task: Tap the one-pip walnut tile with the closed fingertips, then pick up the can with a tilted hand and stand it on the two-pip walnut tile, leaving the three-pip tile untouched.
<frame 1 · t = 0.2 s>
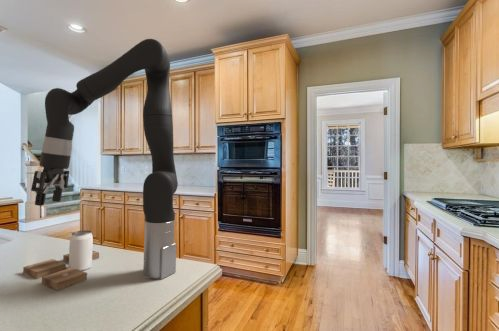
hand: (48, 203, 81), 22 cm above the countertop, tool pointing down, fingers open, 8 cm apart
tile 1: (64, 281, 75), on the countertop
tile 2: (44, 271, 82), on the countertop
tile 3: (81, 259, 93), on the countertop
can: (80, 268, 85), on the countertop
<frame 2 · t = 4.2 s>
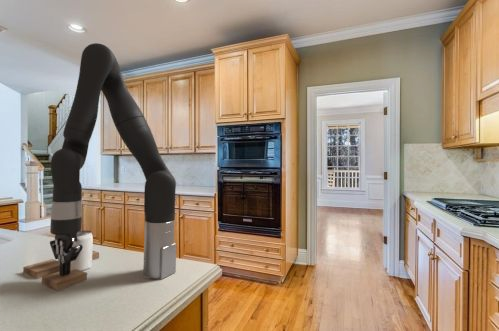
hand: (64, 274, 75), 2 cm above the countertop, tool pointing down, fingers closed
nothing on the countertop moved.
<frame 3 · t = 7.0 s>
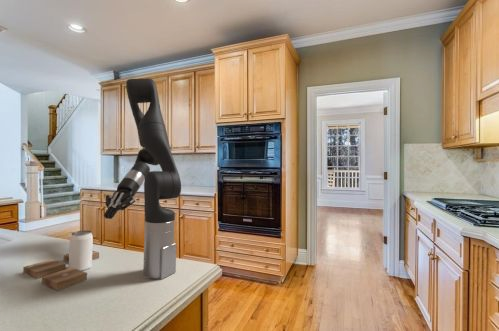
hand: (107, 217, 95), 15 cm above the countertop, tool tilted 45°, fingers closed
nothing on the countertop moved.
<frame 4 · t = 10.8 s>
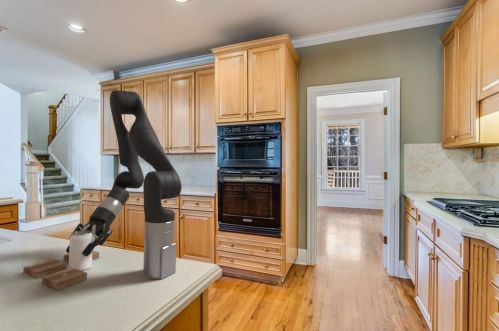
hand: (76, 253, 83), 5 cm above the countertop, tool tilted 45°, fingers closed on can, 6 cm apart
can: (80, 268, 85), on the countertop, touching gripper
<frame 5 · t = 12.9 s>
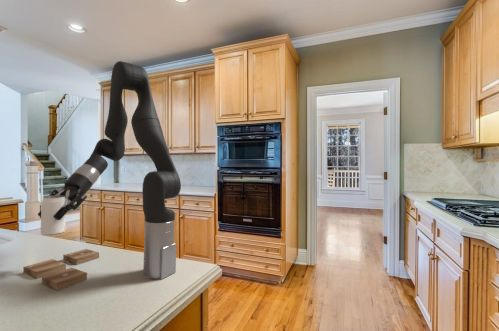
hand: (48, 217, 82), 17 cm above the countertop, tool tilted 45°, fingers closed on can, 6 cm apart
can: (53, 233, 83), point 12 cm above the countertop, touching gripper
when the fingers open (9 cm above the countertop, at t = 15.2 s): can drops 1 cm, resting on tile 2.
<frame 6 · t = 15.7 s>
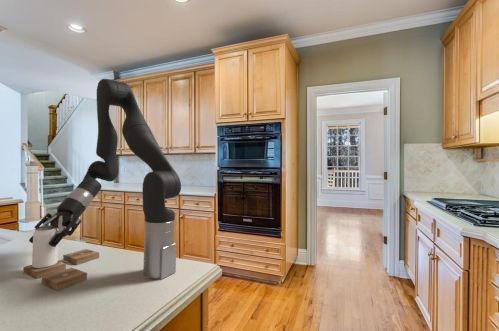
hand: (41, 244, 81), 9 cm above the countertop, tool tilted 45°, fingers open, 8 cm apart
can: (45, 265, 82), point 2 cm above the countertop, touching tile 2
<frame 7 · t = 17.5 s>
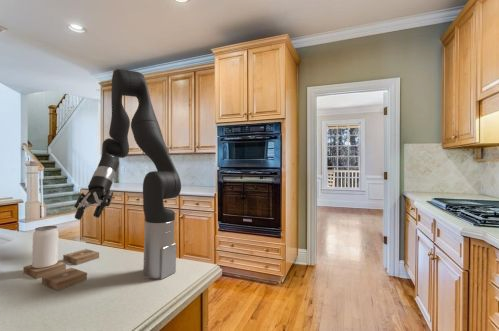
hand: (86, 217, 93), 15 cm above the countertop, tool tilted 35°, fingers open, 8 cm apart
nothing on the countertop moved.
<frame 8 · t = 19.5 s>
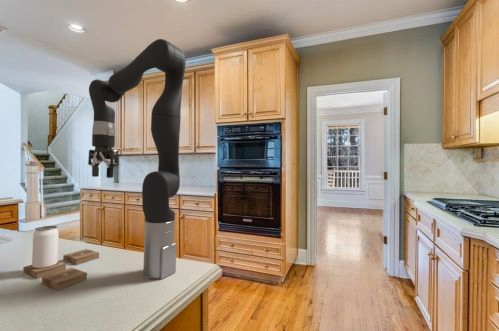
hand: (102, 177, 96), 30 cm above the countertop, tool pointing down, fingers open, 8 cm apart
nothing on the countertop moved.
at the end: can inside the target area on the tile 2 (0.2 cm from its centre), point 1.8 cm above the tile 2's base; can tilted 0°; the gripper is holding nothing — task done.
